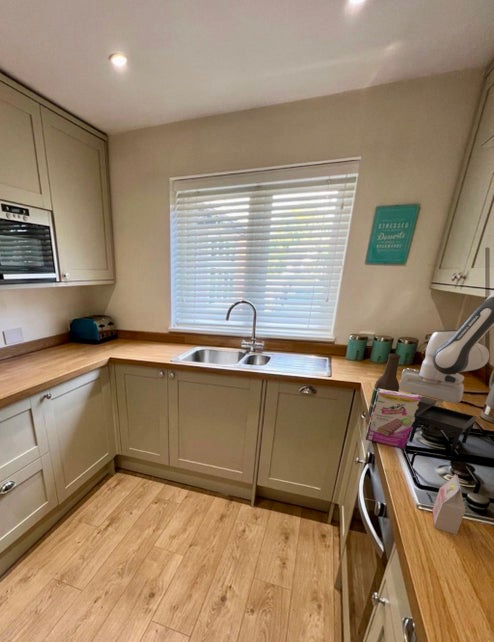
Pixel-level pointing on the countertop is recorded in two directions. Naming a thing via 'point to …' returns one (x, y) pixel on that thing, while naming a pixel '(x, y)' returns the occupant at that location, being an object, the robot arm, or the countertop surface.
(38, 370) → the countertop surface
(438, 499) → the small gable carton
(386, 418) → the candy bar box
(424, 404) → the black box
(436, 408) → the black tray stand
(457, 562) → the countertop surface
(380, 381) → the beer bottle
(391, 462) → the countertop surface
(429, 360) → the robot arm
